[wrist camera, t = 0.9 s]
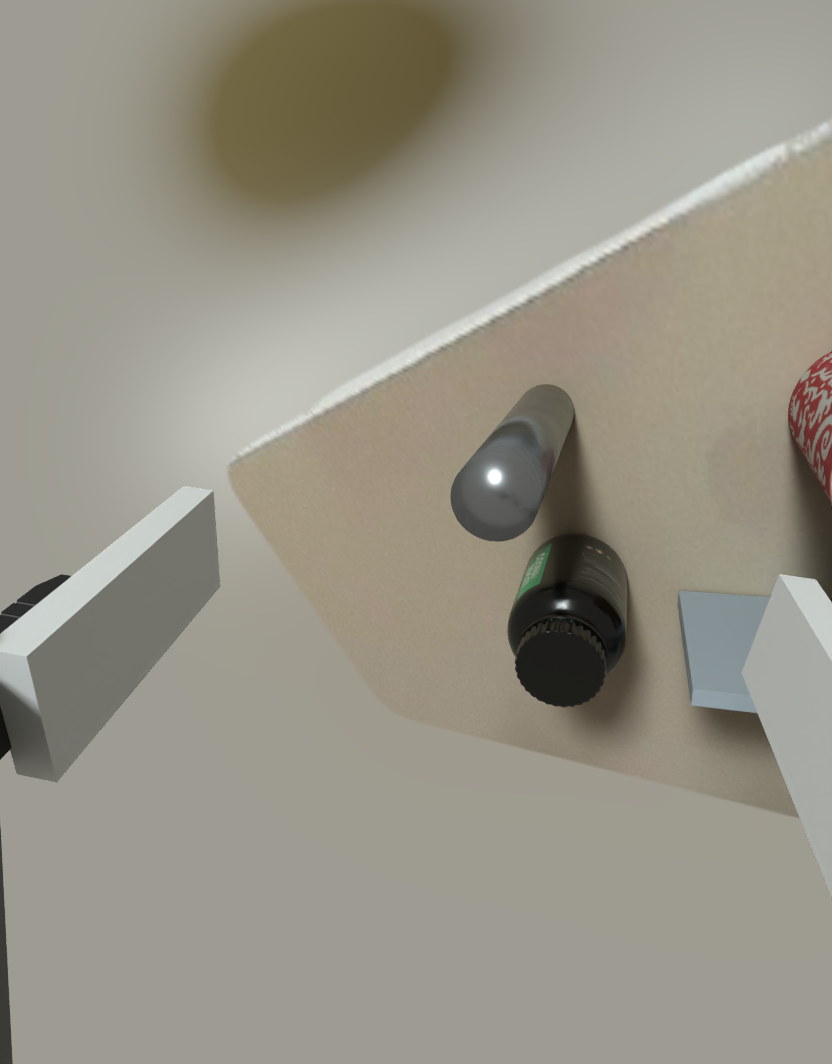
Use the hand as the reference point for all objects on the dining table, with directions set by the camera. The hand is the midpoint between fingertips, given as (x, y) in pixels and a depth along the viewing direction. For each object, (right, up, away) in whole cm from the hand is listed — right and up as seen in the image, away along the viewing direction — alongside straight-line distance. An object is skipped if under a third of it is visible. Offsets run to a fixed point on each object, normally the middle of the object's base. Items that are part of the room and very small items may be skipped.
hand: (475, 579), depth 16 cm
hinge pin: (+7, +9, +27) cm, 29 cm away
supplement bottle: (+10, -2, +31) cm, 32 cm away
